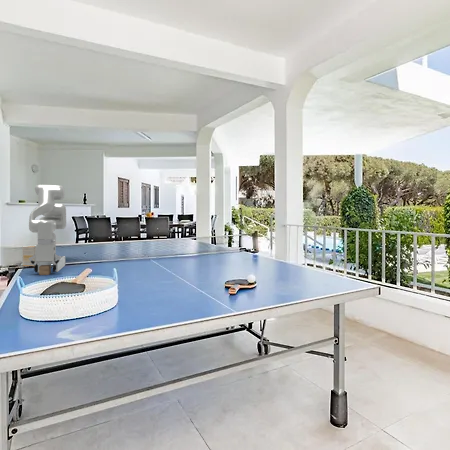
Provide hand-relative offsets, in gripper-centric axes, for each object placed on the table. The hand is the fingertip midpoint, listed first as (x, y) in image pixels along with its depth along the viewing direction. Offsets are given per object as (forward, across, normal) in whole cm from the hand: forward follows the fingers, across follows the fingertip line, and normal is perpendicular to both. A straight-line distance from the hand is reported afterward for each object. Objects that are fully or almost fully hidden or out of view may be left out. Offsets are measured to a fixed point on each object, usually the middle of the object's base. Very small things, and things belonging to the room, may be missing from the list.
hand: (45, 271), depth 200 cm
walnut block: (+1, 0, 0) cm, 2 cm away
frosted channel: (+1, 0, -17) cm, 17 cm away
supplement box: (+1, +15, -28) cm, 32 cm away
